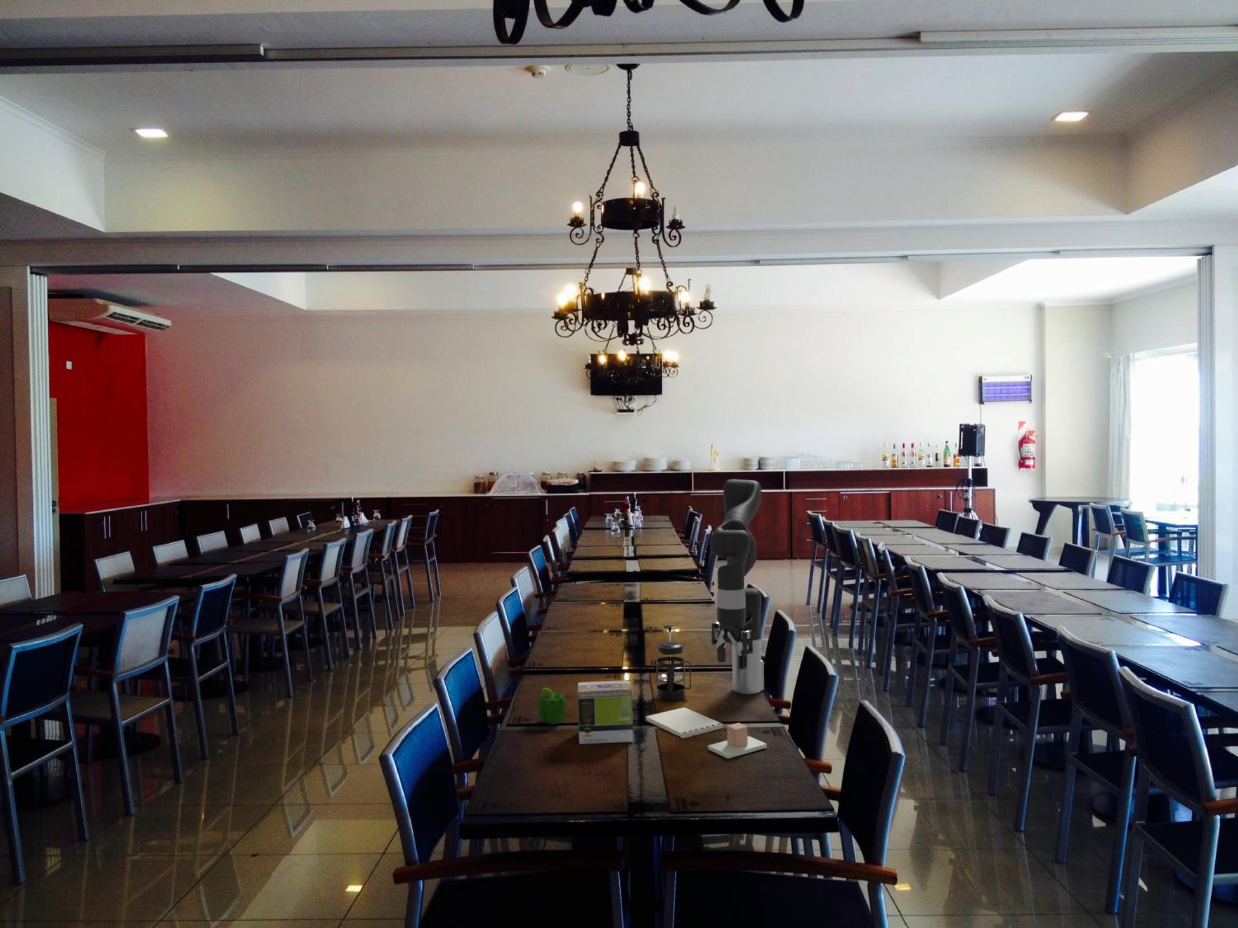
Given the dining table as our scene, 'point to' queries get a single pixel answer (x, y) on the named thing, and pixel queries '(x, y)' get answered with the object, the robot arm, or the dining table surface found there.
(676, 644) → the french press
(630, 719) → the tea box
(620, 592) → the dining table surface
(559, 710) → the bell pepper
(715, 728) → the white notebook
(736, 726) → the stub
